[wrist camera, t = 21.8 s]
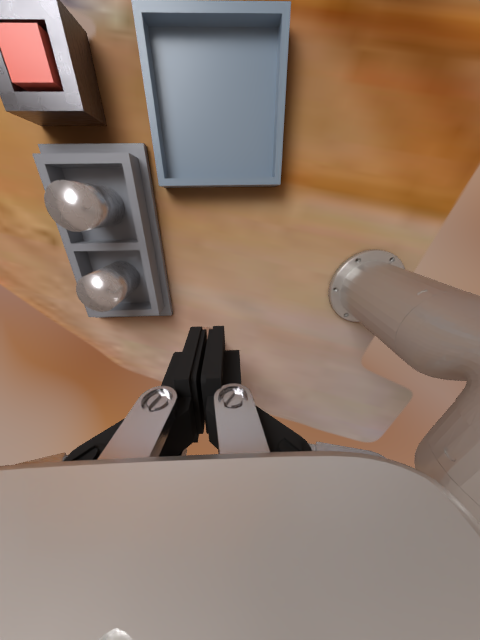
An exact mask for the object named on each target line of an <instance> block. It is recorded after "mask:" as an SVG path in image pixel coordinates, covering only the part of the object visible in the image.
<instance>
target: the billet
mask: <svg viewBox="0 0 480 640" xmlns="http://www.w3.org/2000/svg"><path fill="white" fill-rule="evenodd" d="M44 200H45V205H46V208H47V210H48V212H49V214H50V216H51V217H52V218H53V219H54V221H55V222H56V223H58V224H59V225H60V226H61V227H63V228H65V229H67V230H70V231H74V232H81V231H86V230H91V229H97V228H102V227H107V226H112V225H116V224H118V223H120V222H121V221H122V219H123V217H124V214H125V207H124V203H123V200H122V198H121V197H120V195H119V194H118V193H117V192H116V191H115V190H113V189H112V188H110V187H108V186H104V185H97V184H90V183H82V182H75V181H68V180H56V181H54V182H52V183H50V184H49V185H48V187H47V188H46V191H45V195H44Z"/></svg>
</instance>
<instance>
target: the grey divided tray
mask: <svg viewBox="0 0 480 640" xmlns="http://www.w3.org/2000/svg"><path fill="white" fill-rule="evenodd" d="M38 146H39V149H40V152H41V154H33V157H34V160H35V163H36V166H37V169H38V172H39V174H40V177H41V180H42V183H43V186H44V189H45V191H46V188H47V187H48V185H49V184H50V183H52V182H54V181H56V180H68V181H75V182H82V183H90V184H97V185H104V186H108V187H110V188H112V189H113V190H115V191H116V192H117V193H118V194H119V195H120V197H121V198H122V200H123V203H124V207H125V214H124V217H123V219H122V221H121V222H120V223H118V224H116V225H112V226H107V227H102V228H97V229H91V230H86V231H81V232H74V231H70V230H67V229H65V228H63V227H61V226H60V225H59V224H58V223H56V224H57V227H58V230H59V232H60V235H61V238H62V241H63V244H64V247H65V250H66V253H67V256H68V259H69V261H70V264H71V267H72V270H73V273H74V276H75V279H76V282H77V283H78V281H79V280H80V279H81V278H82V277H83V276H85V275H88V274H90V273H92V272H94V271H96V270H98V269H100V268H102V267H105V266H107V265H109V264H111V263H113V262H115V261H125V262H128V263H130V264H131V265H133V266H134V267H135V268H136V269H137V271H138V273H139V276H140V283H139V285H138V287H137V288H136V289H135V290H134V291H133V292H131V293H130V294H129V295H128V296H127V297H126V298H124V299H123V300H122V301H121V302H120V303H119V304H117V305H116V306H115V307H114V308H113V309H111V310H109V311H106V312H98V311H94V310H92V309H90V308H88V307H87V306H85V308H86V311H87V314H88V316H89V317H131V316H167V315H172V314H173V311H172V305H171V298H170V292H169V286H168V280H167V273H166V267H165V261H164V255H163V248H162V242H161V236H160V230H159V223H158V217H157V211H156V205H155V198H154V192H153V186H152V180H151V173H150V167H149V161H148V155H147V148H146V145H145V144H144V143H114V144H38Z"/></svg>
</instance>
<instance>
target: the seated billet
mask: <svg viewBox="0 0 480 640" xmlns="http://www.w3.org/2000/svg"><path fill="white" fill-rule="evenodd" d="M139 283H140V276H139V273H138V271H137V269H136V268H135V267H134V266H133V265H131V264H130V263H128V262H125V261H115V262H113V263H111V264H109V265H107V266H105V267H102V268H100V269H98V270H96V271H94V272H92V273H90V274H88V275H85V276H83V277H82V278H81V279H80V280H79V281H78V283H77V286H76V292H77V295H78V297H79V299H80V300H81V302H82V303H83V304H84V305H85V306H87V307H88V308H90V309H92V310H94V311H98V312H106V311H109V310H111V309H113V308H114V307H115V306H116V305H117V304H119V303H120V302H121V301H122V300H123V299H124V298H126V297H127V296H128V295H129V294H130V293H131V292H133V291H134V290H135V289H136V288H137V287H138V285H139Z"/></svg>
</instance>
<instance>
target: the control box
mask: <svg viewBox="0 0 480 640" xmlns="http://www.w3.org/2000/svg"><path fill="white" fill-rule="evenodd" d="M0 23H37V24H38V25H40V26H41V27H42V28H43V29H44V30H45V31H46V32H47V33H48V34H49V37H50V41H51V45H52V49H53V52H54V56H55V60H56V64H57V67H58V71H59V75H60V79H61V82H62V86H63V90H64V92H28V91H26V90H25V89H23V88H21V87H19V86H18V85H16V84H14V83H12V80H11V77H10V74H9V71H8V69H7V66H6V63H5V60H4V57H3V54H2V51H1V48H0V96H1V99H2V102H3V104H4V107H5V110H6V111H7V112H10V113H12V114H14V115H17V116H19V117H21V118H24V119H26V120H28V121H31V122H33V123H35V124H38V125H40V126H107V125H106V121H105V116H104V111H103V107H102V102H101V97H100V93H99V88H98V83H97V79H96V74H95V70H94V65H93V60H92V56H91V51H90V46H89V42H88V37H87V33H86V31H85V30H84V29H83V28H82V27H81V25H80V24H79V23H78V22H77V21H76V19H75V18H74V17H73V16H72V15H71V14H70V12H69V11H68V10H67V9H66V7H65V6H64V5H63V4H62V2H61V1H60V0H0Z"/></svg>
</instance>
